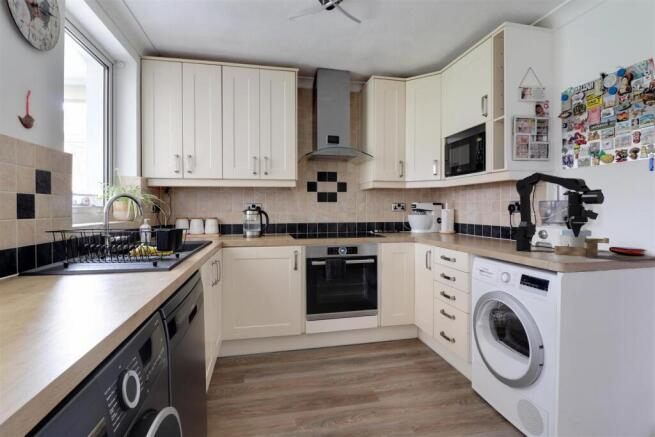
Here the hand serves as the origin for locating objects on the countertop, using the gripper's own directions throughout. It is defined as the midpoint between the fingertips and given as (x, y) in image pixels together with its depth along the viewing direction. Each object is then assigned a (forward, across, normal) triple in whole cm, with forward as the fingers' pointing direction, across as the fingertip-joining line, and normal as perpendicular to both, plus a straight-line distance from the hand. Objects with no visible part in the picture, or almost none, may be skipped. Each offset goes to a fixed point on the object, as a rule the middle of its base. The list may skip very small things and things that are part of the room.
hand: (574, 236), depth 151 cm
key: (+3, +9, -11) cm, 15 cm away
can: (+10, +29, -7) cm, 31 cm away
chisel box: (+10, +9, -2) cm, 14 cm away
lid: (-1, 0, 0) cm, 1 cm away
